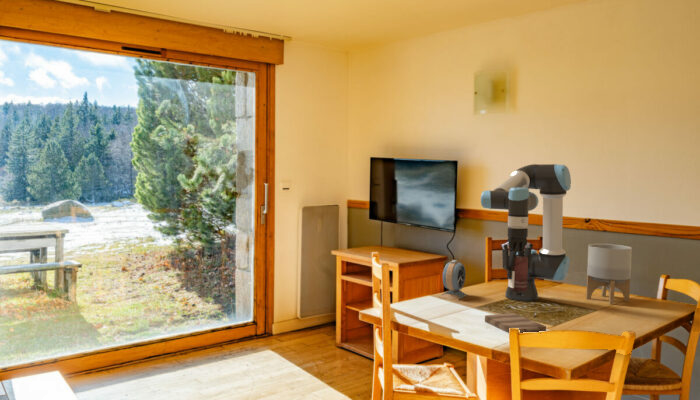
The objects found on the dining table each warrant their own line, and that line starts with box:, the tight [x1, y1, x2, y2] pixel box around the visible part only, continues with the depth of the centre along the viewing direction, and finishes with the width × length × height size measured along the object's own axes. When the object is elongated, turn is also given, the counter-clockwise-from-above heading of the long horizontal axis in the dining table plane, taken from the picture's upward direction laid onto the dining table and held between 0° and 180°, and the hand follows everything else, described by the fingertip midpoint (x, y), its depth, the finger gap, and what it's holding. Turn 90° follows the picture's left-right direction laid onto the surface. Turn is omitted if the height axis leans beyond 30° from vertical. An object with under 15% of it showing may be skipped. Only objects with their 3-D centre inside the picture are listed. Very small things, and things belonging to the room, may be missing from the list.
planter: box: [585, 243, 633, 306], centre depth 263 cm, size 19×19×26 cm
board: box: [484, 312, 547, 334], centre depth 213 cm, size 22×14×2 cm, turn 19°
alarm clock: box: [439, 259, 468, 301], centre depth 265 cm, size 14×10×18 cm
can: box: [511, 255, 528, 292], centre depth 214 cm, size 6×6×14 cm
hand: (515, 286), depth 214 cm, fingers open, 3 cm apart
